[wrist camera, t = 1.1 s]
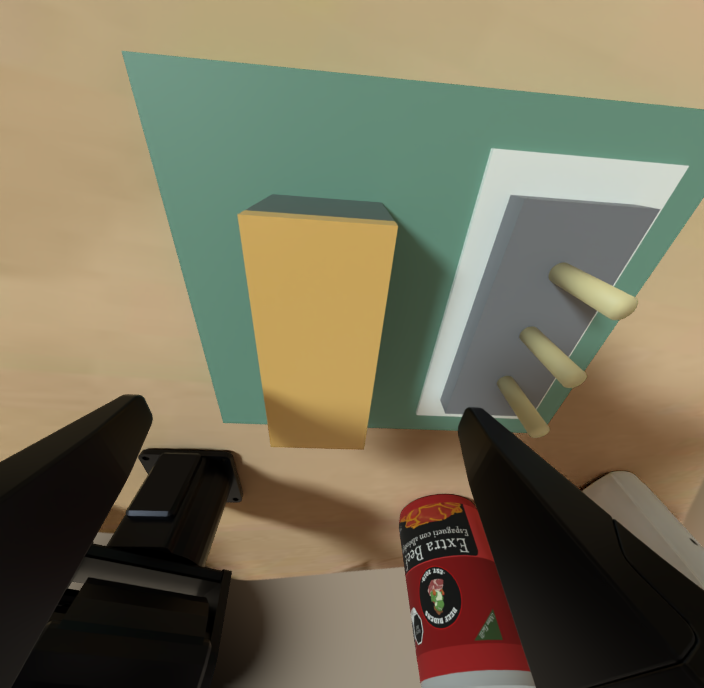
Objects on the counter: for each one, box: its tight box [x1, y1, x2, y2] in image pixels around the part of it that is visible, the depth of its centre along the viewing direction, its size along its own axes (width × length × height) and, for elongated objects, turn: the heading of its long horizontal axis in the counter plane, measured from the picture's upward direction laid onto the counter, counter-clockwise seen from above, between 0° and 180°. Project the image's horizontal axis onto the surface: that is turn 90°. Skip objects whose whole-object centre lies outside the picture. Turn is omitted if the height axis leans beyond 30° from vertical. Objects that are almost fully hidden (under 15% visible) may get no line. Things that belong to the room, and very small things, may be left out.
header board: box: [122, 51, 704, 438], centre depth 12 cm, size 16×20×6 cm
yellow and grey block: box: [237, 194, 398, 450], centre depth 11 cm, size 9×4×4 cm, turn 176°
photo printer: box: [582, 471, 704, 590], centre depth 21 cm, size 10×4×12 cm, turn 162°
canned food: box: [399, 494, 536, 688], centre depth 23 cm, size 8×8×11 cm
